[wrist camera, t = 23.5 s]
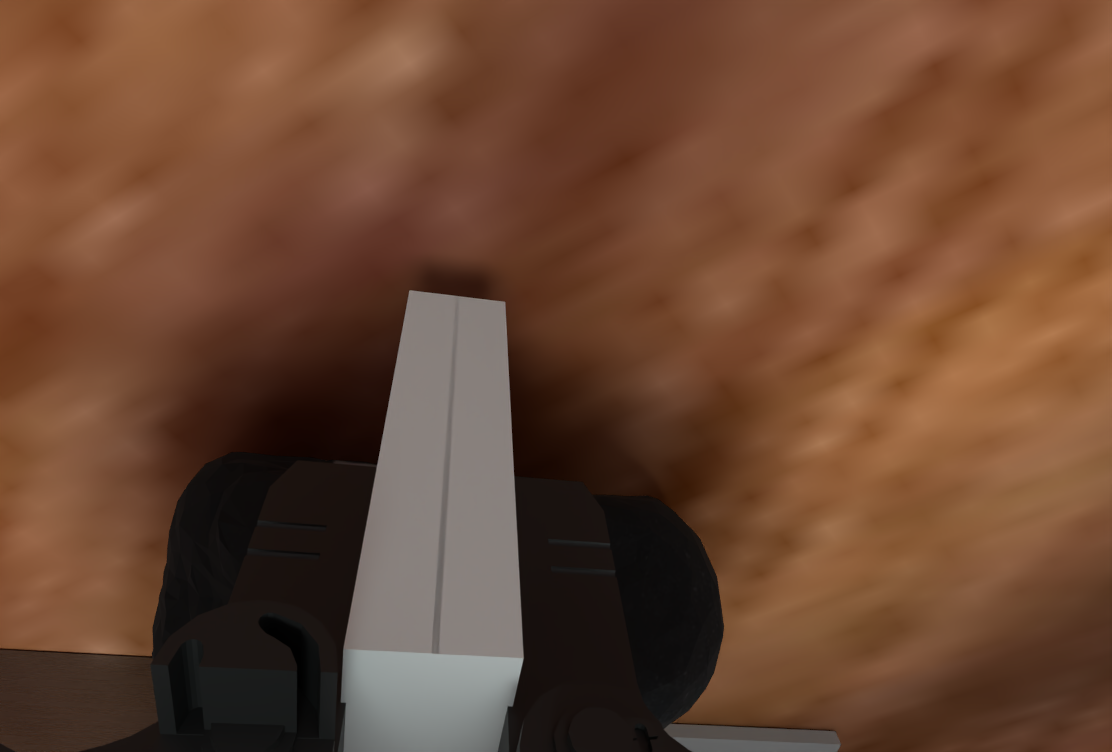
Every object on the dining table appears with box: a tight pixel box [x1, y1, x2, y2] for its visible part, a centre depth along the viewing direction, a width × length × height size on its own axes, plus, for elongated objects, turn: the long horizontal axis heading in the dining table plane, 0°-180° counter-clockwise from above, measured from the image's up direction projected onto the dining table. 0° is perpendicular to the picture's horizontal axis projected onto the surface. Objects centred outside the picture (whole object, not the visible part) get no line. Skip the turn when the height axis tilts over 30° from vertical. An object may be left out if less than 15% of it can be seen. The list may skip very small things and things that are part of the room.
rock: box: [152, 452, 724, 729], centre depth 15 cm, size 9×10×10 cm
